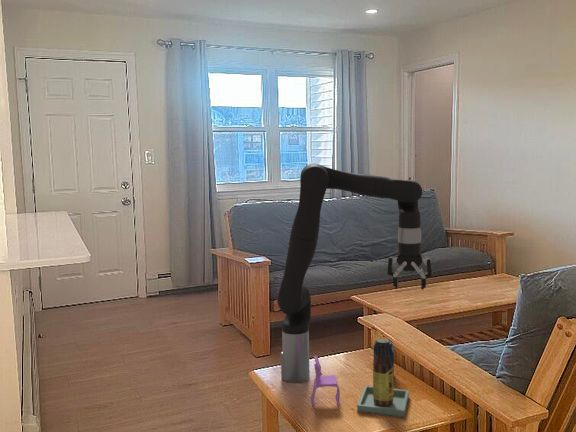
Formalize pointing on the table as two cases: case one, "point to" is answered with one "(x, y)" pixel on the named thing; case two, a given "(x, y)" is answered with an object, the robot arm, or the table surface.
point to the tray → (394, 409)
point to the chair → (323, 381)
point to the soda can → (391, 352)
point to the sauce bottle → (383, 375)
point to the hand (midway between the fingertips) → (409, 288)
